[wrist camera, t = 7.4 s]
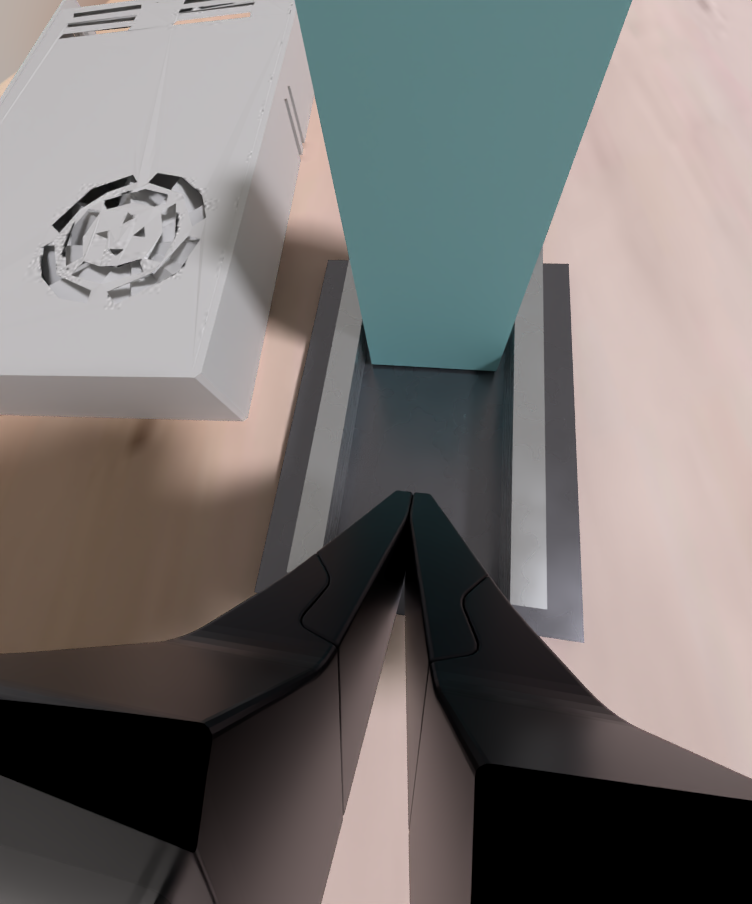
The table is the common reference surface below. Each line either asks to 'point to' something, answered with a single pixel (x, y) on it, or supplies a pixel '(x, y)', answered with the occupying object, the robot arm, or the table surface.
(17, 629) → the table surface
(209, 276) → the power supply unit
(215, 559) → the table surface
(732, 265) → the table surface
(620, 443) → the table surface
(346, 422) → the chute
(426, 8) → the block
